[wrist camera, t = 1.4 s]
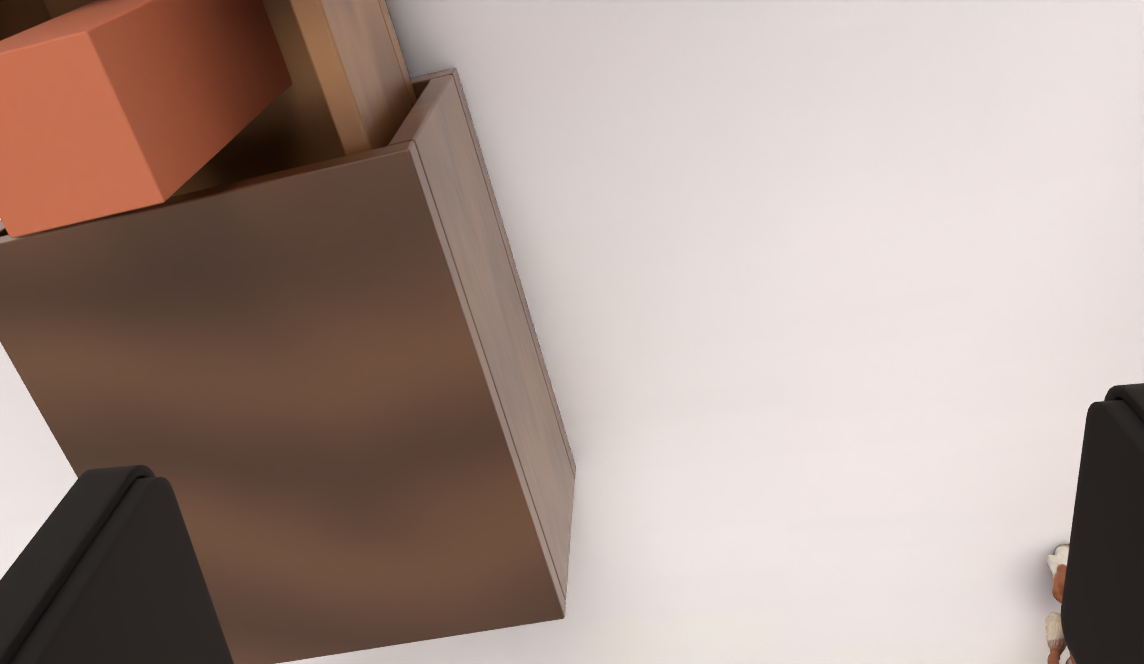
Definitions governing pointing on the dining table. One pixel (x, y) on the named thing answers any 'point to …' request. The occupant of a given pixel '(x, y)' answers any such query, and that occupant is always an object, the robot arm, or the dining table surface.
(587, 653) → the dining table surface
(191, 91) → the block
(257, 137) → the drawer
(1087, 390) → the dining table surface
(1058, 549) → the bull figurine
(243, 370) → the cabinet
